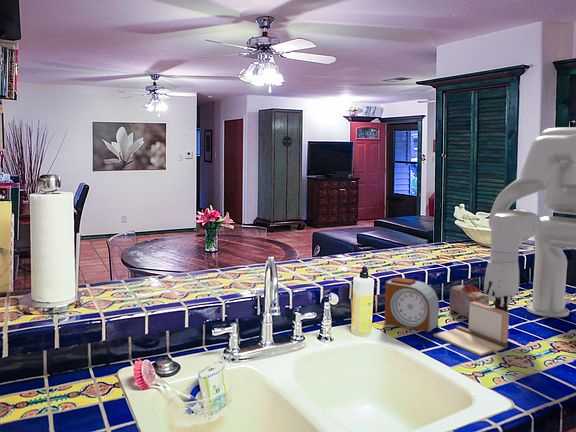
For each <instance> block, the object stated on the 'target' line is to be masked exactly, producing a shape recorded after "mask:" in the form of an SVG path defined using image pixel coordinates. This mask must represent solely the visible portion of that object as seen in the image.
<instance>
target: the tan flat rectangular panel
mask: <svg viewBox="0 0 576 432" xmlns="http://www.w3.org/2000/svg"><path fill="white" fill-rule="evenodd" d="M432 336H433V337H435V338H438V339H439V340H442V341H444V342H446V343H449V344H452V345H453V346H457V347H459V348H461V349H463V350H465V351H467V352H470V353H472V354H475V355H477V356H480V357H482V356H485V355H489V354H493V353H495V352H500V351H503V350H505V349H504V347H502V346H500V345H497V344H495V343H492V342H490V341H487V340H484V339H482V338H479V337H477V336H474V335H472V334H469V333H466V332H464V331H461V330H459V329H456V328H454V329H449V330H445V331H441V332H436V333H433V335H432ZM502 349H503V350H502ZM499 350H500V351H499ZM492 352H493V353H492Z"/></svg>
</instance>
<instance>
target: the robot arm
mask: <svg viewBox="0 0 576 432" xmlns="http://www.w3.org/2000/svg"><path fill="white" fill-rule="evenodd" d="M527 153H528V154H527V156H526V159H525V161H524V165H523V167H522V170H521V172H520V176H519V177H517V179H515V180H514V181H512V182H511V183H509V184H508V185H507V186H506V187H504V189H503V190H501V191H500V192H499V194H498V195H497V196H496V198H495V200H494V202H493V204H492V208H491V210H490V213H489V216H488V226H489V229H490V230H491V233H490V235H491V236H490V250H489V251H490V252H489V254H490V255H489V257H490V258H489V260H488V262H487V265H486V269H485V275H484V283H483V294H485V295H488V300H489V302H493V305H494V308H497V309H500V310H503V311H506V312H509V311H508V309H509V306H510V303H511V299H513V298H515V297H516V296H517V293H519V289H520V265H519V251H520V238H524V239H525V238H526V239H527V238H528V239H529V238H533V240H534V246H535V247H534V264H533V265H534V268H533V284H532V299H531V300H532V301H531V302H532V303H529V304H527V305H526V310H527V312H529V313H531V314H534V315H537V316H541V317H545V318H566V317H568V316H569V315H570V310H569V309H568V308H566V305H567V304H570V303H572V298H571V297H566V286H567V285H566V283H567V273H568V272H567V270H568V259H567V256H566V254H565V253H564V251H563V248H564V249H571V250H576V218H572V217H563V216H562V217H561V216H552V215H549V216H548V215H545V216H542V217H540V216H539V215H537V214H536V213H534V212H531V211H524V210H523V211H521V210H517V209H510V207H511V206H512V205H513V204H514V203H515V202H517V201H518V200H521V199H523V198H525V197H527V196H530V195H533V194H536V193H540V192H542V191H545V192H544V198H543V206H544V208H545V210H547V211H548V212H551V213H556V214H567V215H575V216H576V126H575V127H572V126H571V127H569V126H566V127H564V126H563V127H561V126H560V127H550V128H547V129H544V130H543V131H542V132H541V134H540V136H538V137H536V138H534V140H533V141H532V143H531V144H530V148H529V150H528V152H527Z"/></svg>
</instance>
